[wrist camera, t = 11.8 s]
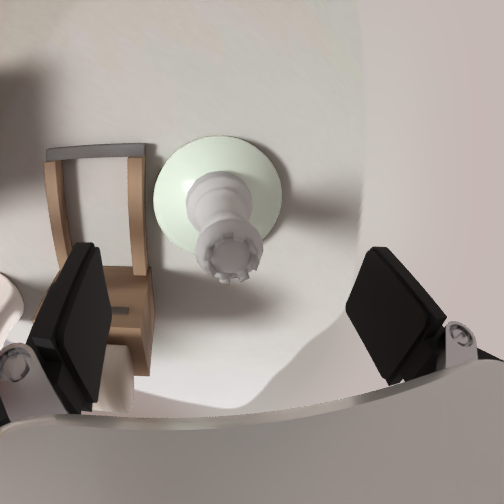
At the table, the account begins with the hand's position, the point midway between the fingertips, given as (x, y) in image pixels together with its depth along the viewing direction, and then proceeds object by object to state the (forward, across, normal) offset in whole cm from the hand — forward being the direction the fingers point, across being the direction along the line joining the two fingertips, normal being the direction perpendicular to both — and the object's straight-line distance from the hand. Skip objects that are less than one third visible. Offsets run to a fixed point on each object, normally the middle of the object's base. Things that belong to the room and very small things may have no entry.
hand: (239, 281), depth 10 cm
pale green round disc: (+12, 0, +2) cm, 12 cm away
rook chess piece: (+11, 0, +2) cm, 11 cm away
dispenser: (+12, +9, +6) cm, 16 cm away
